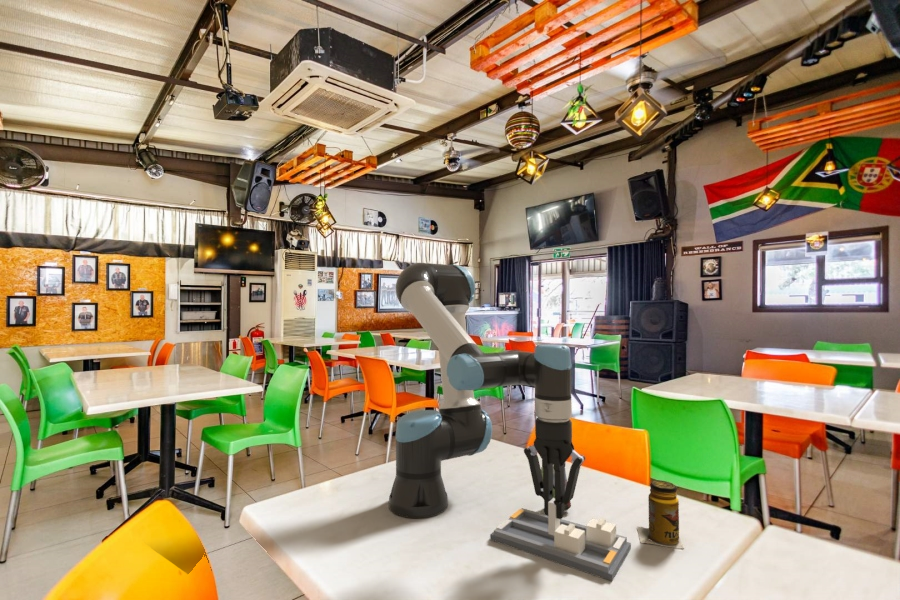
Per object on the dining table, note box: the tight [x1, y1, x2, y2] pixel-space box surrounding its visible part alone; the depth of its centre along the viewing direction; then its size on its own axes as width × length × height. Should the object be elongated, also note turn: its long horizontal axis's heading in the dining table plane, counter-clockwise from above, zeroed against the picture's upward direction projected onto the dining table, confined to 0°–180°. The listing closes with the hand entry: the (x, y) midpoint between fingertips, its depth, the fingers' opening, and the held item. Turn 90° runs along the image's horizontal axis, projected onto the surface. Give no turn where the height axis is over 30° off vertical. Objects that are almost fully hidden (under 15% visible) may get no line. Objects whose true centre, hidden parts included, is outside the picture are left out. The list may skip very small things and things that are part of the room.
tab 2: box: [585, 517, 617, 548], centre depth 94 cm, size 5×4×4 cm
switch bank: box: [489, 508, 632, 582], centre depth 96 cm, size 26×14×2 cm, turn 55°
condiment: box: [636, 480, 684, 550], centre depth 99 cm, size 7×8×12 cm
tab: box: [554, 523, 585, 555], centre depth 91 cm, size 5×4×4 cm
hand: (554, 532), depth 93 cm, fingers closed
